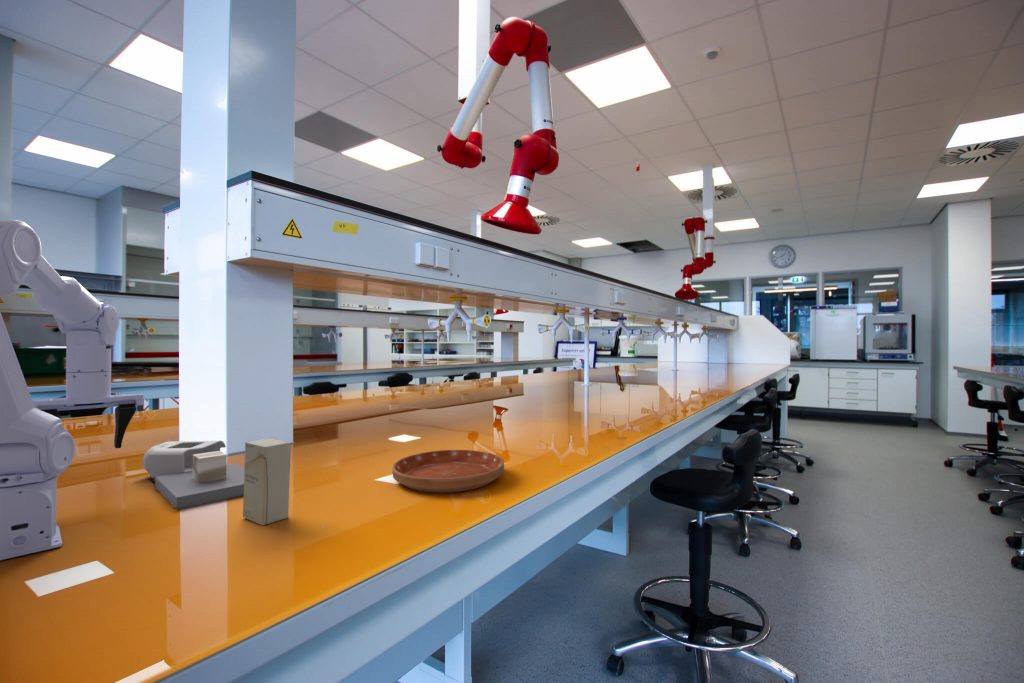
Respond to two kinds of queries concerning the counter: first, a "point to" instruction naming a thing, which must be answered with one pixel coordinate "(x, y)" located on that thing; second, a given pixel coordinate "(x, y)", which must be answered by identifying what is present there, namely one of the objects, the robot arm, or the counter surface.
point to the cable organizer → (176, 456)
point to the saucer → (448, 470)
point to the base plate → (200, 487)
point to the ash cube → (209, 466)
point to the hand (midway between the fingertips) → (88, 451)
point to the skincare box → (266, 480)
